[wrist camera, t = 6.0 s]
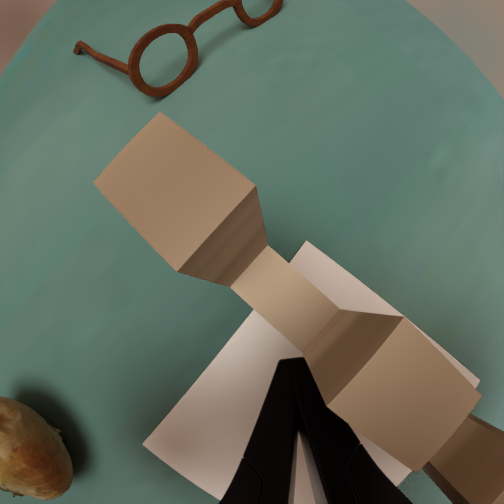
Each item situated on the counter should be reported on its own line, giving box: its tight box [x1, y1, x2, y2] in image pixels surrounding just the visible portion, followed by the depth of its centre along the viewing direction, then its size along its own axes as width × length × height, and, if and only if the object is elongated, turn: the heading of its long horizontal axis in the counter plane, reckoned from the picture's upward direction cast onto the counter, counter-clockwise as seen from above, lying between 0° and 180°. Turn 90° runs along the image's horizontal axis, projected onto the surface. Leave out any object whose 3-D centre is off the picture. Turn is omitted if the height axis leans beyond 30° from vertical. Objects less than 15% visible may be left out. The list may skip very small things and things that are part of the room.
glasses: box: [73, 0, 283, 97], centre depth 17 cm, size 13×13×5 cm
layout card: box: [142, 241, 480, 504], centre depth 13 cm, size 13×14×1 cm
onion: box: [0, 397, 73, 500], centre depth 11 cm, size 8×8×8 cm
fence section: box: [93, 112, 504, 504], centre depth 8 cm, size 10×1×11 cm, turn 48°
